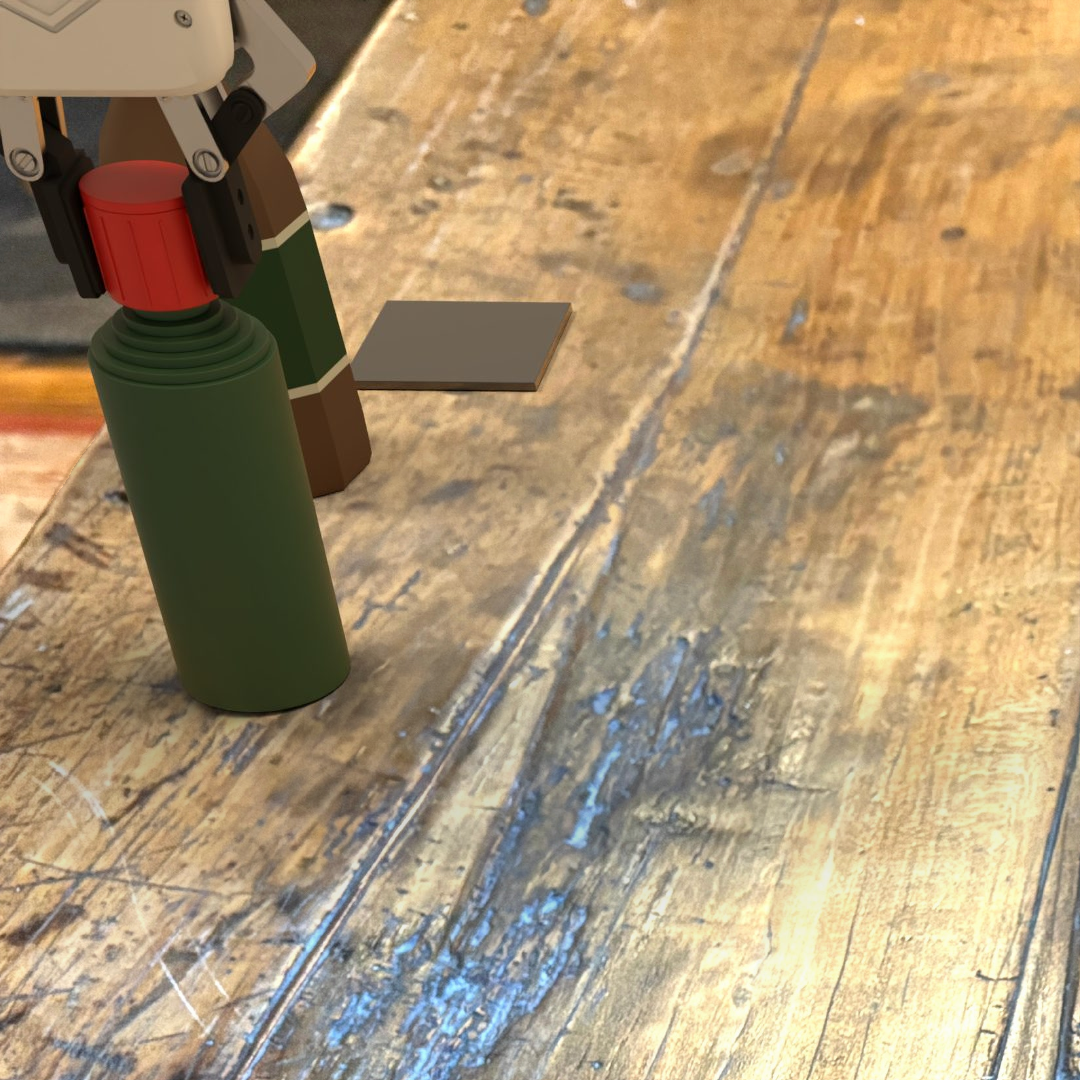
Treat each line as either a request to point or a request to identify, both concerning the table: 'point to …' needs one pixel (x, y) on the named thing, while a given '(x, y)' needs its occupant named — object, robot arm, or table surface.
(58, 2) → the robot arm
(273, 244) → the beer bottle
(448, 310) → the coaster
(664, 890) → the table surface
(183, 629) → the bottle
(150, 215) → the cap
